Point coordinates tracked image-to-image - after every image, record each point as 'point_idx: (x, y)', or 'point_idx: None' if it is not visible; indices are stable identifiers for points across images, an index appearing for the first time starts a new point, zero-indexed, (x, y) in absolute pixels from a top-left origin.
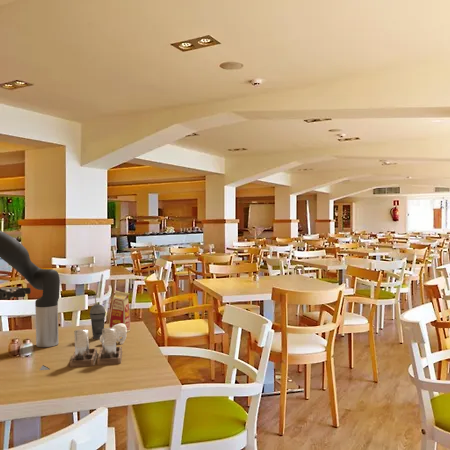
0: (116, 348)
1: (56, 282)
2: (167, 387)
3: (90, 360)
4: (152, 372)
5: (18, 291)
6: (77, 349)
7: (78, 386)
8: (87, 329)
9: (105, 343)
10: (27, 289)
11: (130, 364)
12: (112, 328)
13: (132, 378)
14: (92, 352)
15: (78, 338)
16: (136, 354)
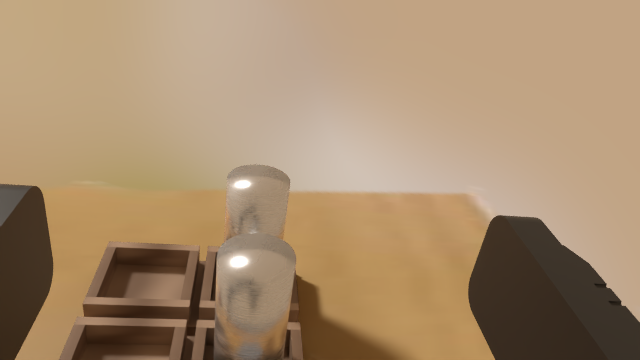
0: (112, 259)
1: None
2: (491, 207)
3: (300, 333)
4: (372, 217)
5: (594, 291)
6: (281, 344)
7: None
8: (243, 235)
9: (280, 238)
10: (17, 238)
11: None
12: (251, 171)
13: (427, 254)
14: (83, 347)
15: (290, 295)
16: (144, 232)
